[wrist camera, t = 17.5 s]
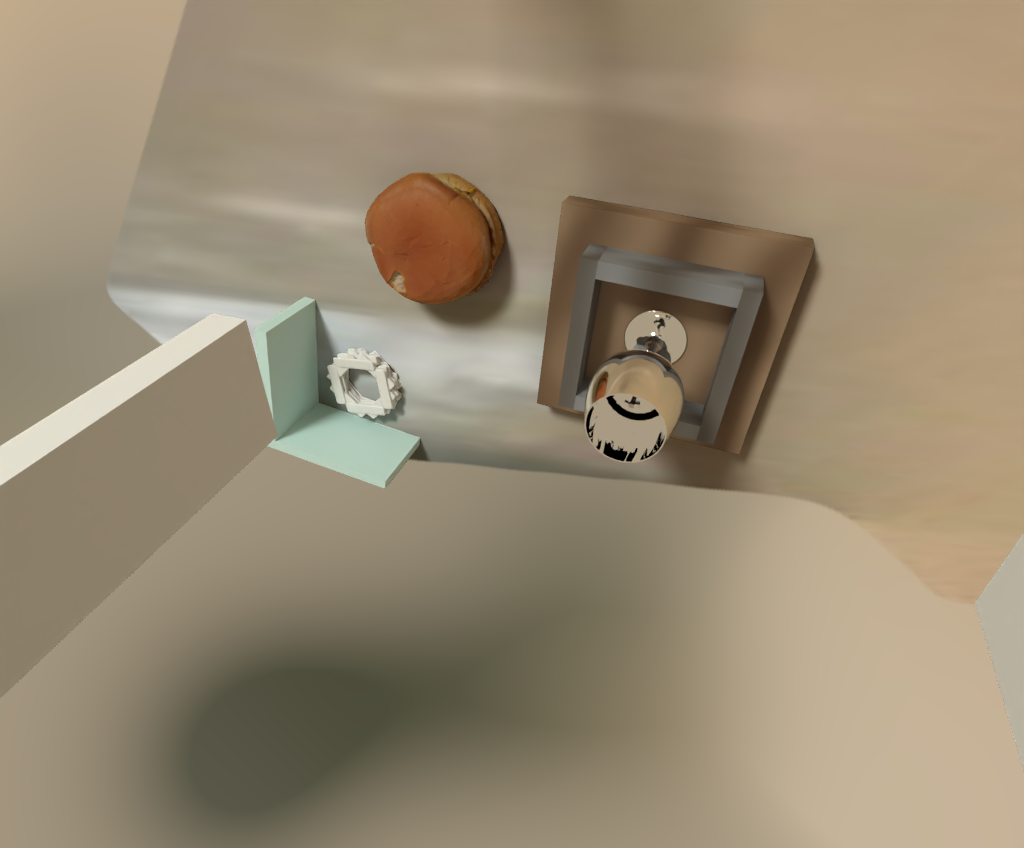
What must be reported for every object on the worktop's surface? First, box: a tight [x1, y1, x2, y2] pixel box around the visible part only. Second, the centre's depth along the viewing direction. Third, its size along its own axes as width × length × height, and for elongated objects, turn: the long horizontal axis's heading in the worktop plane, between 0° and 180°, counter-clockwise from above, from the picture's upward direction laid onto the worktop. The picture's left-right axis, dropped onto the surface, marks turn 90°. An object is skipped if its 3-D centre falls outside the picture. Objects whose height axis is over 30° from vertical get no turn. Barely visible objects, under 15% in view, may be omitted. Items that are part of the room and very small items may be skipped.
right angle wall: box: [254, 297, 420, 489], centre depth 56 cm, size 12×12×8 cm
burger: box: [365, 173, 504, 304], centre depth 47 cm, size 10×9×5 cm
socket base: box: [537, 196, 815, 454], centre depth 45 cm, size 16×16×5 cm
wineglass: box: [584, 310, 688, 463], centre depth 40 cm, size 6×6×12 cm
